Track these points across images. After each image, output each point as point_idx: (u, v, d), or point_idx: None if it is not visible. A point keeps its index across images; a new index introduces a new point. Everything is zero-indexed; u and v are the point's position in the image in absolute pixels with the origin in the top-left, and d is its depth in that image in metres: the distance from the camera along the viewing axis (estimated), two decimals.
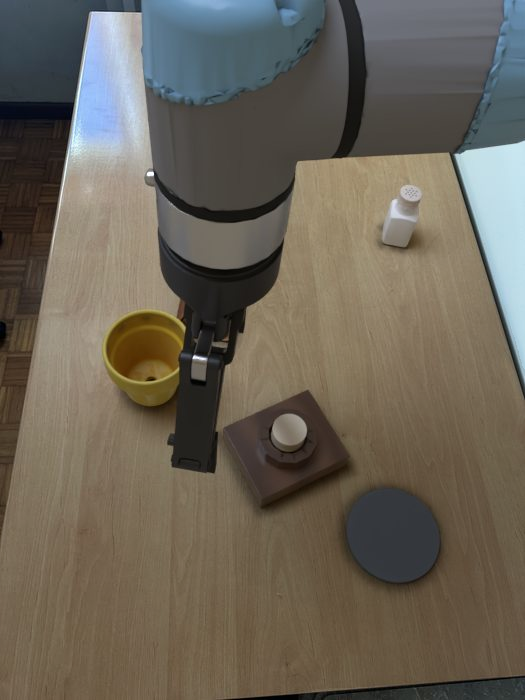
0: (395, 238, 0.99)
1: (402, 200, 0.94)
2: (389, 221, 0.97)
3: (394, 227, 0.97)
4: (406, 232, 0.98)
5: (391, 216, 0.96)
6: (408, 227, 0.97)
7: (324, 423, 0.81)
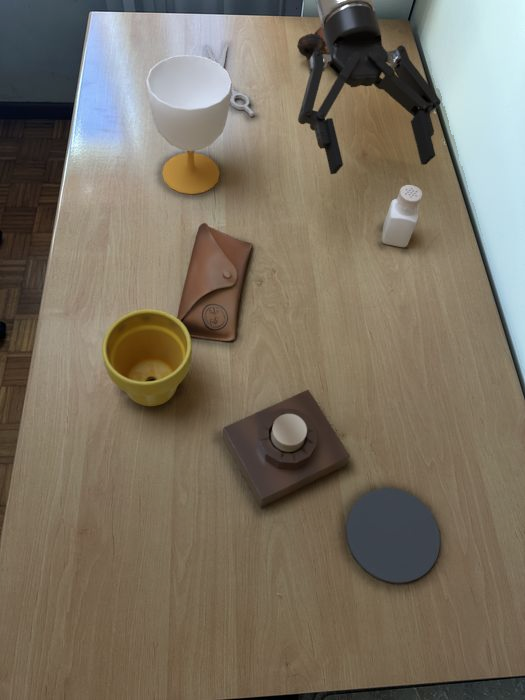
0: (395, 238, 0.99)
1: (402, 200, 0.94)
2: (389, 221, 0.97)
3: (394, 227, 0.97)
4: (406, 232, 0.98)
5: (391, 216, 0.96)
6: (408, 227, 0.97)
7: (324, 423, 0.81)
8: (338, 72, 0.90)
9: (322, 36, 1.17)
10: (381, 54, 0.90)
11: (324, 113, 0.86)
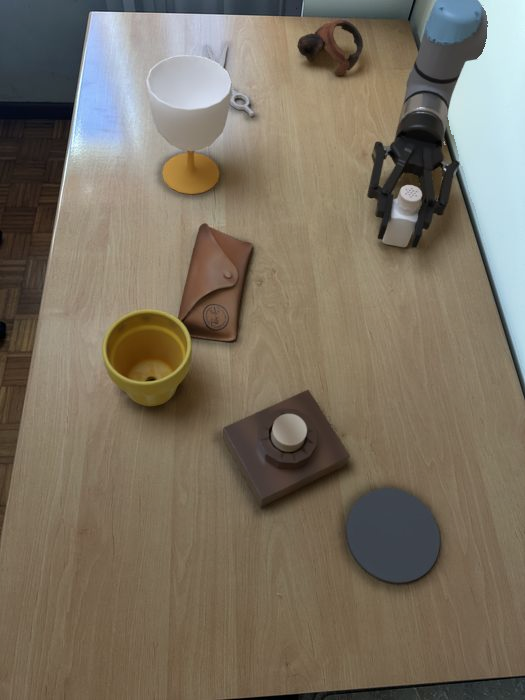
0: (395, 238, 0.99)
1: (402, 200, 0.94)
2: (389, 221, 0.97)
3: (394, 227, 0.97)
4: (406, 232, 0.98)
5: (391, 216, 0.96)
6: (408, 227, 0.97)
7: (324, 423, 0.81)
8: (394, 158, 1.03)
9: (322, 36, 1.17)
10: (437, 154, 1.02)
11: (388, 189, 0.97)
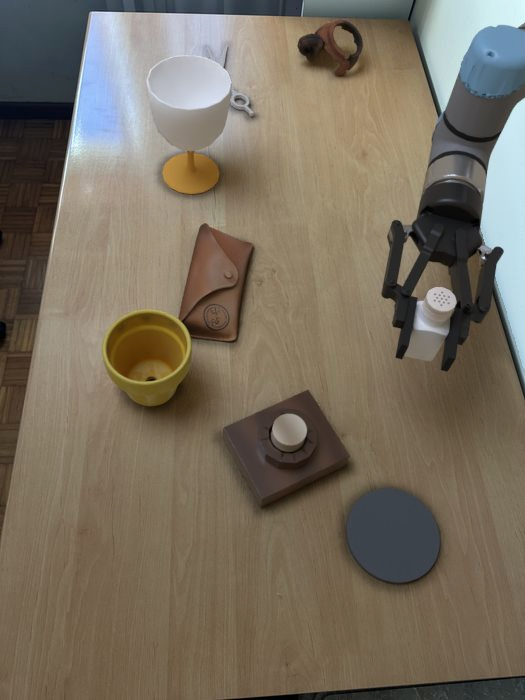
0: (418, 351, 0.75)
1: (429, 308, 0.69)
2: (411, 332, 0.72)
3: (417, 339, 0.73)
4: (433, 346, 0.73)
5: (414, 327, 0.71)
6: (436, 340, 0.72)
7: (324, 423, 0.81)
8: (417, 241, 0.78)
9: (322, 36, 1.17)
10: (473, 238, 0.77)
11: (410, 289, 0.72)
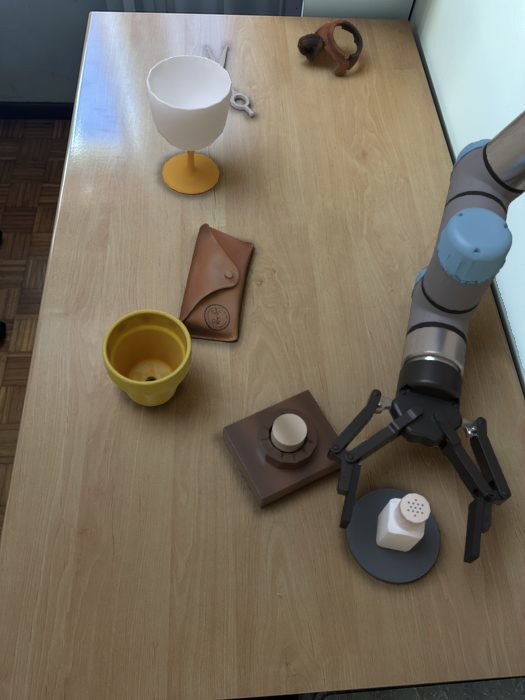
0: (394, 545, 0.74)
1: (403, 517, 0.69)
2: (386, 532, 0.72)
3: (392, 538, 0.73)
4: (408, 543, 0.73)
5: (388, 529, 0.71)
6: (411, 541, 0.72)
7: (324, 423, 0.81)
8: None
9: (322, 36, 1.17)
10: (453, 418, 0.77)
11: (354, 457, 0.73)
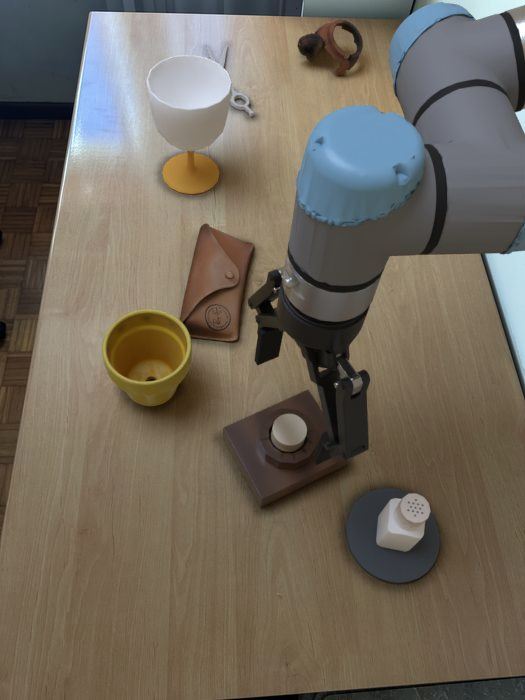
0: (394, 545, 0.74)
1: (403, 517, 0.69)
2: (386, 532, 0.72)
3: (392, 538, 0.73)
4: (408, 543, 0.73)
5: (388, 529, 0.71)
6: (411, 541, 0.72)
7: (324, 423, 0.81)
8: None
9: (322, 36, 1.17)
10: None
11: None
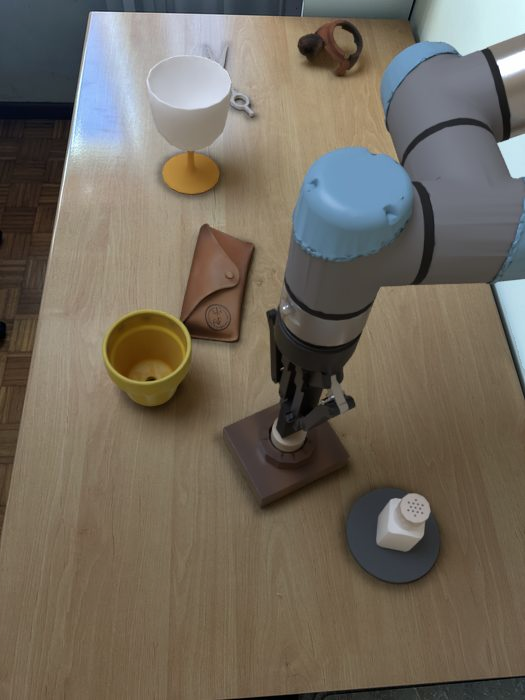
0: (394, 545, 0.74)
1: (403, 517, 0.69)
2: (386, 532, 0.72)
3: (392, 538, 0.73)
4: (408, 543, 0.73)
5: (388, 529, 0.71)
6: (411, 541, 0.72)
7: (324, 423, 0.81)
8: None
9: (322, 36, 1.17)
10: None
11: None
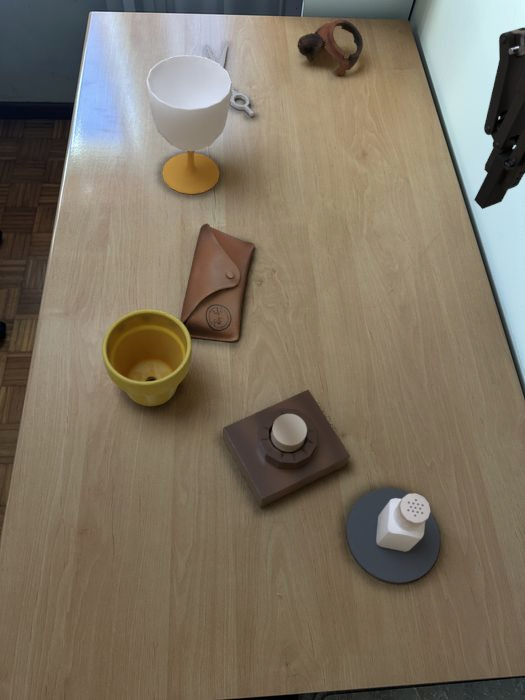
0: (394, 545, 0.74)
1: (403, 517, 0.69)
2: (386, 532, 0.72)
3: (392, 538, 0.73)
4: (408, 543, 0.73)
5: (388, 529, 0.71)
6: (411, 541, 0.72)
7: (324, 423, 0.81)
8: None
9: (322, 36, 1.17)
10: None
11: None
